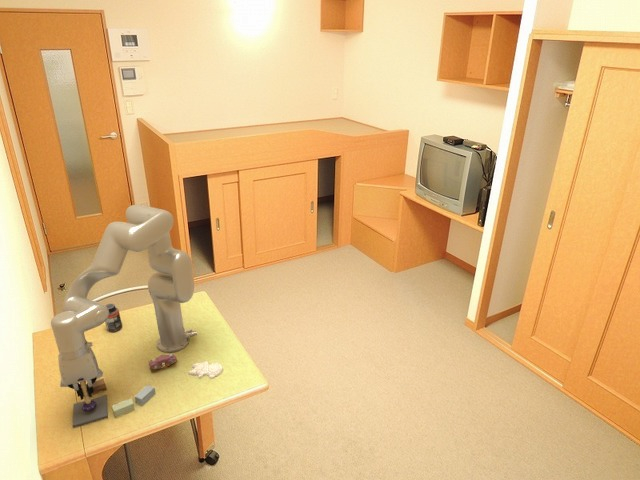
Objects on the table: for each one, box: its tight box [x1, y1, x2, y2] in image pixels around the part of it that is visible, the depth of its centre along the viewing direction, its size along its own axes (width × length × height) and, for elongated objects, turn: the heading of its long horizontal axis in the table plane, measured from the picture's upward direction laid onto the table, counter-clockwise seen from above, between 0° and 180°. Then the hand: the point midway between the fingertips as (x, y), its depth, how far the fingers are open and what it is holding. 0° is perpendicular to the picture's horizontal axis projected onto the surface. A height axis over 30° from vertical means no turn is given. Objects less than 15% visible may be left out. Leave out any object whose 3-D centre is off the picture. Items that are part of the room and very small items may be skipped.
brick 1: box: [92, 378, 107, 396], centre depth 153 cm, size 6×3×3 cm, turn 125°
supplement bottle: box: [104, 303, 123, 333], centre depth 184 cm, size 6×6×11 cm
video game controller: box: [148, 353, 177, 370], centre depth 164 cm, size 10×5×7 cm, turn 119°
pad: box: [71, 394, 109, 429], centre depth 145 cm, size 10×10×1 cm
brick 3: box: [134, 384, 156, 406], centre depth 150 cm, size 6×3×3 cm, turn 156°
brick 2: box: [111, 397, 136, 419], centre depth 145 cm, size 6×3×3 cm, turn 125°
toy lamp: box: [77, 378, 97, 412], centre depth 141 cm, size 5×5×17 cm
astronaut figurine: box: [188, 361, 224, 379], centre depth 163 cm, size 9×12×3 cm
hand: (86, 395), depth 142 cm, fingers closed on toy lamp
